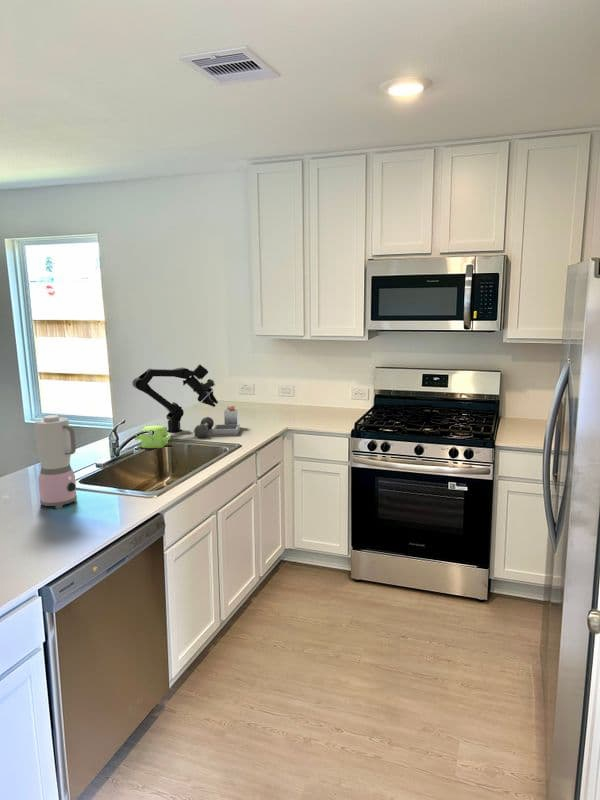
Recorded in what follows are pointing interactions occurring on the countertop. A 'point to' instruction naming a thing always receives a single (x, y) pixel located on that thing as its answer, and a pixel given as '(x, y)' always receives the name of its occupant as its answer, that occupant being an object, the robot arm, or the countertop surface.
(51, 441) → the blender
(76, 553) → the countertop surface
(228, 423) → the block
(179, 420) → the robot arm
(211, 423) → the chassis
